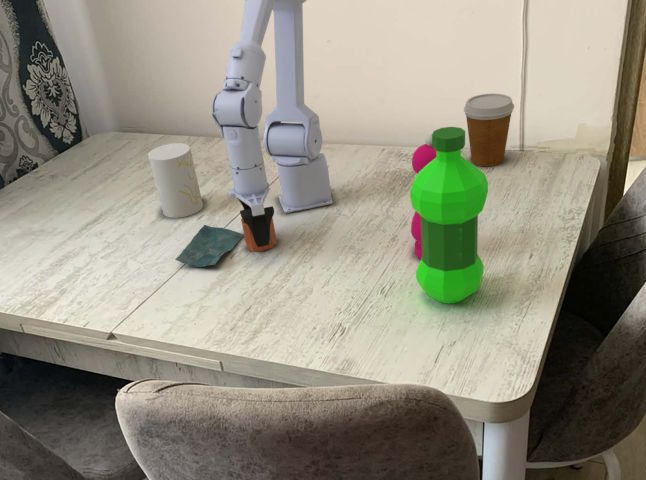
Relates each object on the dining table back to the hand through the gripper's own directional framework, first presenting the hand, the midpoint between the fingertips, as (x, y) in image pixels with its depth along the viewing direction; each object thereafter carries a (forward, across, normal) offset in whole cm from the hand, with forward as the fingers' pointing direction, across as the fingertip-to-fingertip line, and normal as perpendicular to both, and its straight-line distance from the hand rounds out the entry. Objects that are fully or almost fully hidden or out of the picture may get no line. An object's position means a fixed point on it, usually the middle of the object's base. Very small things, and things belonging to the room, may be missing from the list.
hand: (259, 235), depth 129 cm
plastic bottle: (+2, +28, +25) cm, 38 cm away
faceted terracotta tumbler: (+2, 0, 0) cm, 2 cm away
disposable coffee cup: (+2, -16, +49) cm, 52 cm away
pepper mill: (+2, +15, +27) cm, 31 cm away
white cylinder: (+2, -22, -13) cm, 26 cm away
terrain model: (+2, -1, -9) cm, 9 cm away
